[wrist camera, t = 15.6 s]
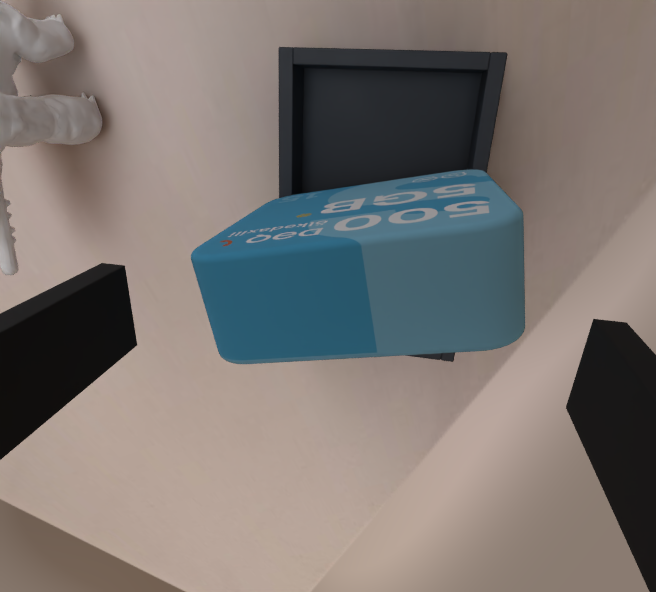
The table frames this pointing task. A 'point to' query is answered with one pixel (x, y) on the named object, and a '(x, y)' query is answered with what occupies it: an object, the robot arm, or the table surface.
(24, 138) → the dinosaur statue
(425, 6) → the table surface
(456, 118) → the holder
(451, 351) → the data package
